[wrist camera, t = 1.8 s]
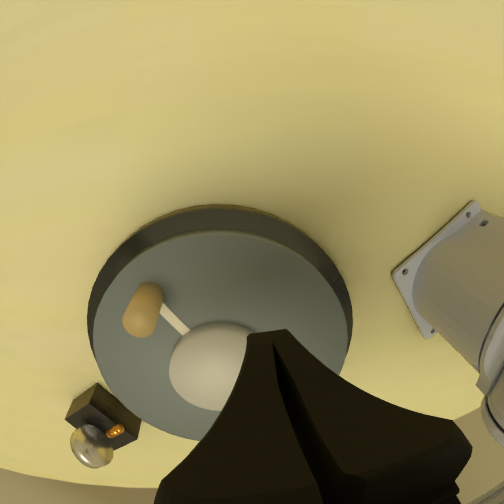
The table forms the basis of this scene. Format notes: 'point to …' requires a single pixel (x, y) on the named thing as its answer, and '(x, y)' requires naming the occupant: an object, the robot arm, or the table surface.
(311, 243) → the plinth
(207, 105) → the table surface
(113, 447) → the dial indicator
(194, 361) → the disc
